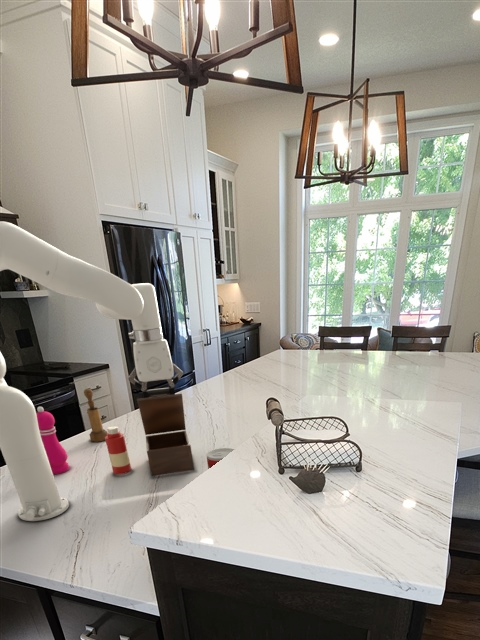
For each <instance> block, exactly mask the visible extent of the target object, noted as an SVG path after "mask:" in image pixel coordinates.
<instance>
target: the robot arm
mask: <svg viewBox="0 0 480 640" xmlns="http://www.w3.org/2000/svg"><path fill="white" fill-rule="evenodd" d="M4 270H9V271H12V272H13V273H16V274H18V275H20V276H22V277H24V278H26V279H29V280H31V281H33V282H35V283H37V284H38V285H40V286H43V287H44V288H46V289H49V290H50V291H52V292H55V293H57V294H60V295H63V296H66V297H70V298H77V299H80V300H81V299H83V300H85V301H89V302H92V303H94V304H95V305H94V306H95V307H96V310H97V311H98V312H99V314H101V315H102V316H103V317H105V318H108V319H111V320H127V321H128V320H131V324H132V329H133V330H132V332H128V338H129V339H132V340H135V342H133V343H132V348H133V359H134V366H135V367H134V368H133V370H132V371H131V373H130V374H129V376H128V377H127V380H128V381H129V382H130V383H131V384H133V385H134V386H135V387H136V388H138V389H139V390H141V391H142V394H143V398H148V397H149V394H148V390H149V389H148V387H147V385H148V382H154V381H163V380H164V381H165V380H166V381H167V383H168V387H167V388H169V392H170V394H169V395H173V394H176V393H175V386H176V385H177V384H178V382H179V381H180V379H181V377H182V376H183V375H184V371H183V370H181V369H180V368H179V367H178V366H177V365H176V364H175V363H173V360H172V356H171V351H170V347H169V344H168V341H167V339H165V338H164V335H163V329H162V323H161V317H160V313H159V312H160V310H159V305H158V300H157V293H156V289H155V286H154V285H153V284H152V283H149V282H145V283H144V282H143V283H141V282H140V283H133V284H131V283H129V282H128V281H126V280H124V279H122V278H120V277H119V276H117V275H115V274H113V273H112V272H109V271H107V270H105V269H103V268H100V267H99V266H96V265H93V264H91V263H88V262H86V261H84V260H82V259H80V258H77V257H75V256H72V255H70V254H67V253H66V252H65V251H62V250H61V249H59V248H57V247H55V246H53V245H52V244H50V243H48V242H46V241H44V240H43V239H41V238H39V237H37V236H35V235H34V234H32V233H31V232H29V231H27V230H25V229H23V228H21V227H20V226H18V225H16V224H13V223H12V222H8V221H1V220H0V272H2V271H4ZM6 373H7V364H6V359H5V357H4V356H3V354H2V352H1V351H0V451H1V454H2V456H3V459H4V462H5V464H6V467H7V470H8V472H9V475H10V477H11V480H12V483H13V485H14V489H15V491H16V493H17V497H18V499H19V501H20V504H21V507H19V508H18V510H17V515H18V518H19V519H21V520H23V521H26V522H40V521H44V520H48V519H49V520H50V519H53V518H55V517H57V516H59V515H61V514H63V513H65V512H66V511H67V510H68V508H69V506H70V503H69V500H68V499H67V498H65V497H62V496H61V494H60V492H59V489H58V486H57V482H56V480H55V477H54V474H53V473H52V470H51V467H50V464H49V460H48V457H47V454H46V451H45V448H44V445H43V440H42V437H41V435H40V431H39V427H38V421H37V415H36V413H37V411H36V407H35V406H34V404H33V402H32V400H31V398H30V397H29V396H28V395H26V393H24V391H22V390H21V389H18V388H16V387H13V386H11V385H10V386H9V385H8V384H7V382H6V380H5V375H6ZM175 373H176V374H175ZM174 374H175V375H174ZM136 376H137V379H138V380H137V379H136Z"/></svg>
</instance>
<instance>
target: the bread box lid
mask: <svg viewBox="0 0 480 640" xmlns="http://www.w3.org/2000/svg"><path fill="white" fill-rule="evenodd" d="M147 390H148V394H149V397H148V398H144V397H140V398H136V401H137V405H138V409H139V414H140V417H141V422H142V426H143V427H142V428H143V431H144V434H145V436H147V435H154V434H162V433H169V432H177V431H184V430H186V429H187V428H186V420H185V419H186V418H185V409H184V400H183V393H175V394H173V395H170V392H169V388H168V387H163V388H154V389H147ZM186 431H187V430H186Z"/></svg>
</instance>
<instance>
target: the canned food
mask: <svg viewBox="0 0 480 640" xmlns="http://www.w3.org/2000/svg"><path fill="white" fill-rule="evenodd" d="M233 450H235V449H234V448H229V447H221V448H215V449H212V450H209V451H208V452H207V453H206V462H207V470H208V469H209V468H211V467H212V466H213V465H215V464H216V463H217V462H219V461H220V460H222V459H223V458H224V457H226V456H227V455H228V454H229V453H230V452H232V451H233Z"/></svg>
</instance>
